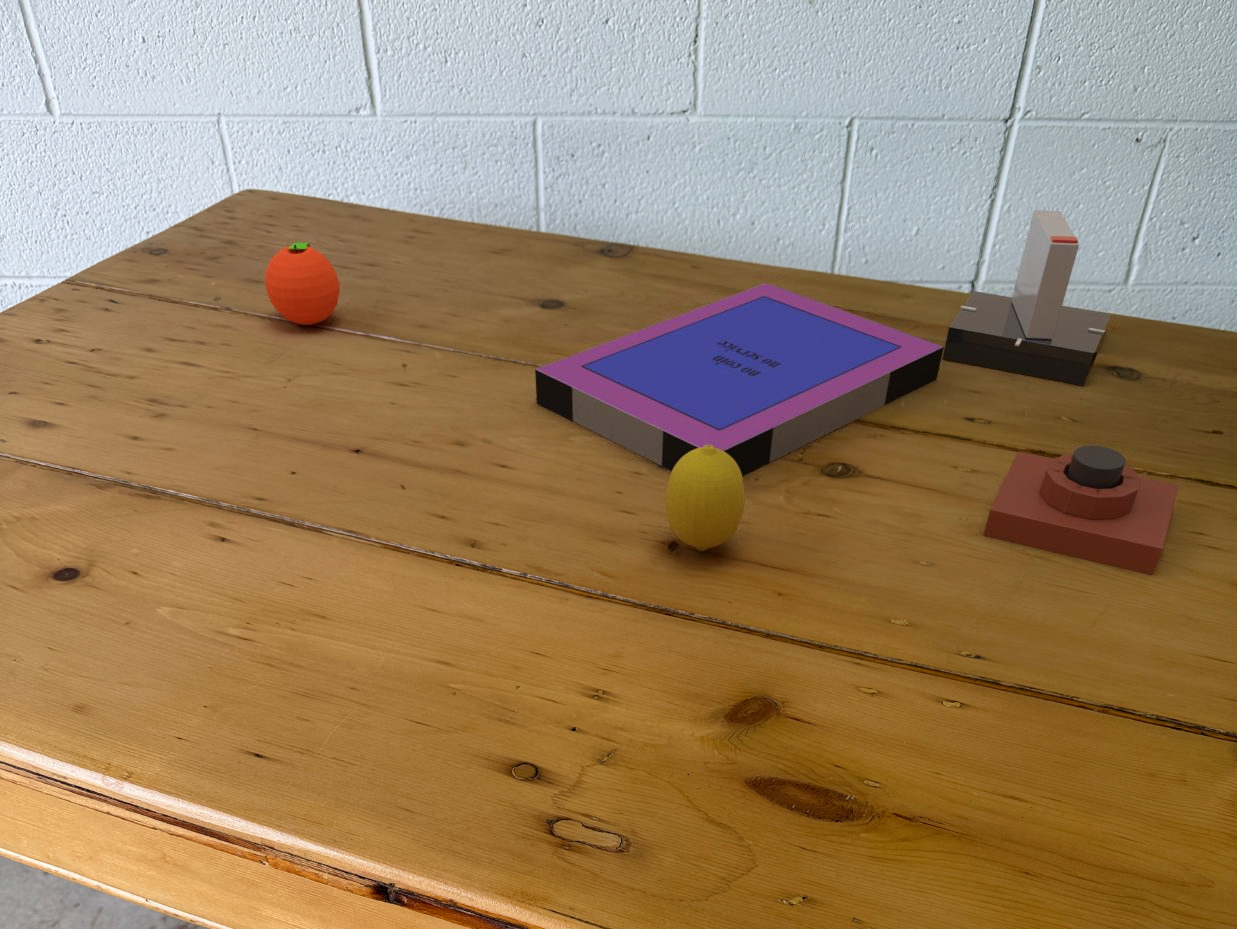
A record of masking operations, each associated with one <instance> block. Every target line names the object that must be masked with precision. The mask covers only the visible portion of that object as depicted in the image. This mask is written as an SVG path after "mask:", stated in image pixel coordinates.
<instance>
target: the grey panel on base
mask: <svg viewBox="0 0 1237 929" xmlns="http://www.w3.org/2000/svg"><path fill="white" fill-rule="evenodd" d="M1079 247H1080V243H1079V240H1078V238H1077V236H1075V235H1074V233H1073V231H1072V229H1071V228H1070V225H1069V224H1068V222H1067V221H1066V219H1065V217H1064V215H1063V212H1062V211H1060V210H1044V209H1043V210H1042V209H1041V210H1039V209H1034V210H1033V211H1032V216H1031V220H1030V224H1029V229H1028V232H1027V236H1026V240H1025V244H1024V248H1023V253H1022V257H1021V261H1020V264H1019V268H1018V272H1017V276H1016V280H1015V283H1014V287H1013V291H1012V296H1011V297H1012V300H1011V301H1012V304H1013V306H1014V309H1015V311H1016V314H1017V316H1018V319H1019V321H1020V324H1021V326H1022V329H1023V331H1024V334H1025V336H1026V338H1038V339H1053V336H1054V333H1055V329H1056V326H1057V322H1058V318H1059V315H1060V311H1061V308H1062V306H1063V304H1064V301H1065V300H1064V299H1065V297H1066V294H1067V290H1068V287H1069V283H1070V280H1071V275H1072V272H1073V270H1074V265H1075V262H1076V259H1077V254H1078V251H1079V249H1080V248H1079Z"/></svg>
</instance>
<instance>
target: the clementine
mask: <svg viewBox="0 0 1237 929" xmlns="http://www.w3.org/2000/svg"><path fill="white" fill-rule="evenodd" d="M264 284H265V290H266V293H267V296H268V299H269V302H270V303H271V304H272V306H273V307H274V309H275V311H277V312H278V314H280V315H281V316H282V317H283V318H284V319H286V320H287V321H290V322H292V323H294V324H297V325H301V326H302V325H304V326H313V325H316V324H319V323H322V322H323V321H325V320H326V319H327V318H328V317H330V316H331V315H332V314H333V312H334V311H335V309H336V307H337V306H338V302H339V299H340V298H339V297H340V291H341V290H340V280H339V277H338V274H337V272H336V270H335V268H334V267H333V265H332V262H331V261H330V260H329V259H328V258H327V257H326V256H325V255H324V254H323V253H322V252H320V251H318V250H316V248H313V247H311V245H310V242H294V243H292V244H291V245H289V246H288V245H287V246H285V247H283V248H281V249H280V250H279V251H278V252H277V253H276V254H274V255H273V256H272V257H271V259H270V260H269V263H268V265H267V267H266V272H265V277H264Z"/></svg>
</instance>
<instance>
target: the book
mask: <svg viewBox="0 0 1237 929" xmlns="http://www.w3.org/2000/svg"><path fill="white" fill-rule="evenodd" d="M944 349H945V346H943V345H940V344H937V343H935V342H932V341H929V340H926V339H923V338H920V337H918V336H915V335H912V334H911V333H910V334H909V333H907V332H904V331H901V330H899V329H896V328H893V327H891V326H887V325H884V324H881V323H879V322H876V321H874V320H870V319H867V318H865V317H862V316H860V315H856V314H855V313H851V312H848V311H846V310H843V309H840V308H838V307H834V306H831V305H829V304H826V303H823V302H820V301H817V300H815V299H813V298H809V297H806V296H804V295H801V294H798V293H796V292H794V291H790V290H788V289H784V288H782V287H779V286H776V285H773V284H770V283H768V282H765V283H762V284H759V285H757V286H754V287H751V288H748V289H745V290H743V291H740V292H738V293H735V294H731V295H730V296H727V297H724V298H722V299H719V300H716V301H714V302H711V303H708V304H706V305H703V306H700V307H698V308H695V309H692V310H689V311H687V312H684V313H682V314H679V315H676V316H673V317H671V318H668V319H666V320H664V321H661V322H658V323H655V324H652V325H649V326H647V327H644V328H642V329H639V330H636V331H634V332H632V333H629V334H625V335H622V336H620V337H618V338H615V339H613V340H609V341H607V342H605V343H601V344H599V345H596V346H594V347H591V348H588V349H585V350H582V351H580V352H578V353H575V354H572V355H570V356H567V357H564V358H561V359H559V360H556V361H554V362H551V363H548V364H545V365H543V366H539V367H538V368H535V369H534V374H535V376H534V377H535V396H536V397H535V398H536V404H537V405H538V406H541V407H544V408H545V409H547V410H549V411H551V412H553V413H555V414H557V415H559V416H561V417H562V418H565V419H567V420H569V421H571V422H573V423H575V424H577V425H578V426H581V427H583V428H585V429H587V430H589V431H591V432H593V433H594V434H597V435H599V436H601V437H603V438H605V439H607V440H609V441H611V442H612V443H615V444H617V445H618V446H620V447H622V448H625V449H626V450H628V451H630V452H632V453H634V454H637V455H639V456H641V457H643V458H644V459H646V460H648V461H650V462H652V463H654V464H657V465H659V466H660V467H663V468H664V469H666V470H669V471H670V472H672V470H673V468H674V466H675V465H676V464H677V462H678V461H679V460H680V459H681V458H682V457H683V456H684V455H685V454H687V453H688V452H690V451H692V450H694V449H697V448H701V447H703V446H705V445H712V446H714V448H717V449H720V450H722V451H724V452H726V453H727V454H728V455H729V456H731V457H732V458H733V459H734V460H735V462H736V463H737V465H738V467H739V468H740V471H741V474H742V477H744V476H745V475H748V474H750V473H753V472H754V471H757V470H758V469H760V468H762V467H764V466H766V465H768V464H770V463H772V462H774V461H776V460H778V459H780V458H783V457H784V456H787V455H788V454H790V453H792V452H794V451H796V450H798V449H801V448H802V447H805V446H807V445H808V444H811V443H812V442H815V441H816V440H819V439H821V438H823V437H825V436H826V435H828V433H829V434H831V433H832V432H835V431H837V430H839V429H840V428H842V426H843V427H845V426H847V425H848V424H851V423H852V422H855V421H857V420H858V419H860V418H862V417H864V416H866V415H868V414H870V413H872V412H874V411H876V410H879V409H880V408H882V407H885V406H886V405H888V404H890V403H892V402H895V401H896V400H898V399H900V398H902V397H904V396H907V395H908V394H910V393H913V392H915V391H917V390H919V389H921V388H923V387H925V386H926V385H929V384H930V383H932V382H935V381H937V380H938V375H939V371H940V366H941V361H942V358H943V353H944ZM838 428H839V429H838ZM836 429H837V430H836ZM834 430H835V431H834ZM830 432H831V433H830ZM824 435H825V436H824Z"/></svg>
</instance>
